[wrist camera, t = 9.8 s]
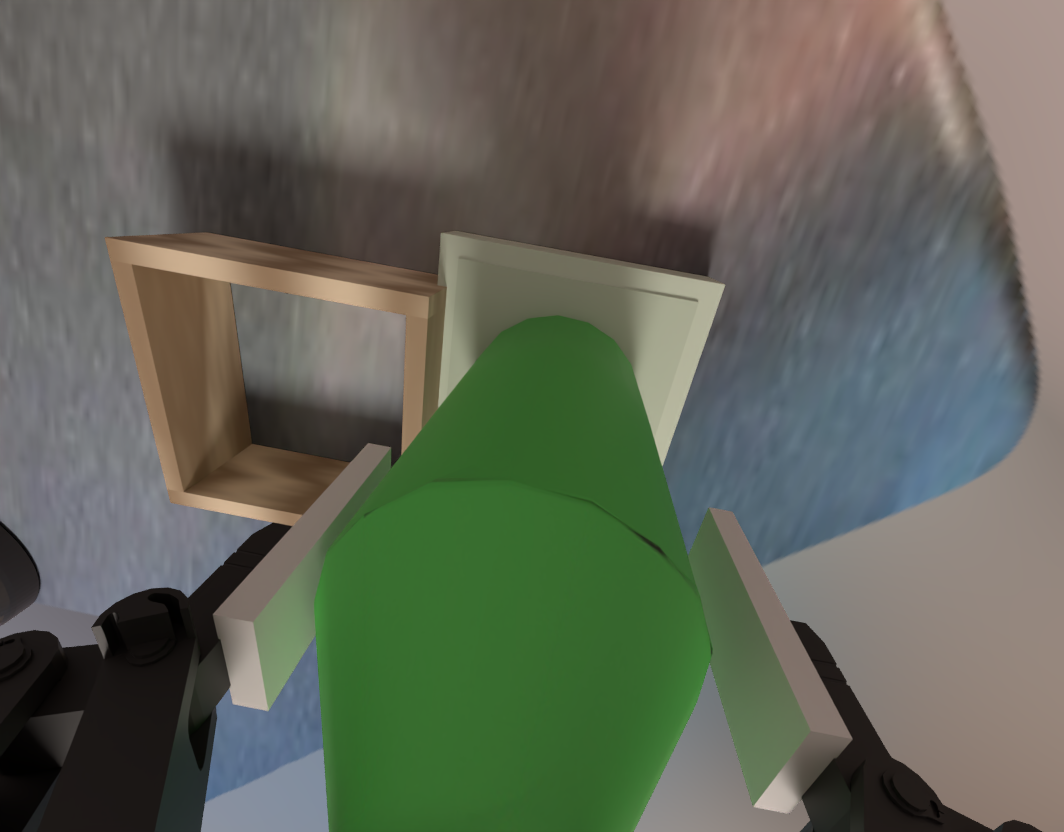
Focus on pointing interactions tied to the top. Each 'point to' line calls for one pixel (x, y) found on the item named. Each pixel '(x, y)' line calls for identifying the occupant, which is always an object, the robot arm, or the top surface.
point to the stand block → (578, 312)
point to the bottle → (512, 607)
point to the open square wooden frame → (215, 366)
